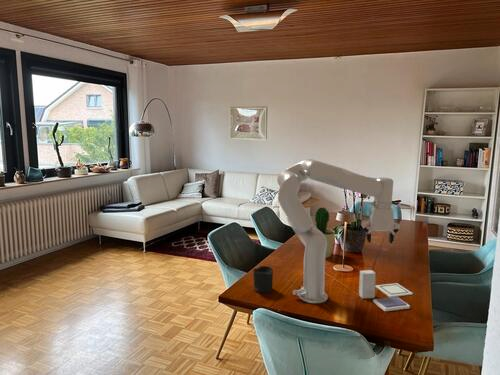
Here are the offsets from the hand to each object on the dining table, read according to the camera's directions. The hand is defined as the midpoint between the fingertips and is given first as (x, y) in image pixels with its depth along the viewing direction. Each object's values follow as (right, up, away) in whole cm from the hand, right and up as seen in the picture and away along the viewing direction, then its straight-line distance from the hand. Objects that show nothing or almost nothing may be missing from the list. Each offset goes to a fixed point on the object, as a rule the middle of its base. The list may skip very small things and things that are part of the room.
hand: (379, 242), depth 172 cm
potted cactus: (-16, -16, +59) cm, 63 cm away
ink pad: (+3, -26, -7) cm, 28 cm away
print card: (+9, -24, +7) cm, 27 cm away
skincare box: (-6, -25, +1) cm, 26 cm away
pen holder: (-53, -24, +9) cm, 59 cm away
